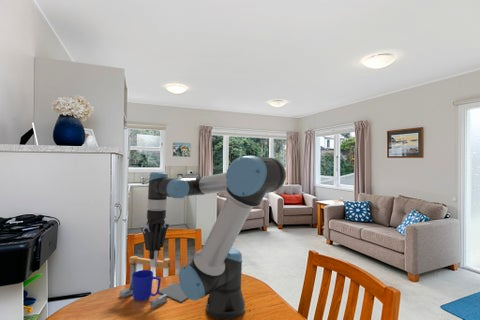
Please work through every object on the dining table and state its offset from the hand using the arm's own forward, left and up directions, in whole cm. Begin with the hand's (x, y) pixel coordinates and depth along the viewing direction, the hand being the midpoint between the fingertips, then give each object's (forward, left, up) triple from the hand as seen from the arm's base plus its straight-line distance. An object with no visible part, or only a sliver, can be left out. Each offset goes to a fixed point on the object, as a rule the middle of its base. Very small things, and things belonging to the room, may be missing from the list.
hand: (153, 266), depth 108 cm
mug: (+2, +1, -14) cm, 14 cm away
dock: (+3, +1, -13) cm, 14 cm away
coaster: (-5, -10, -13) cm, 17 cm away
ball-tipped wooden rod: (+4, -1, 0) cm, 4 cm away
